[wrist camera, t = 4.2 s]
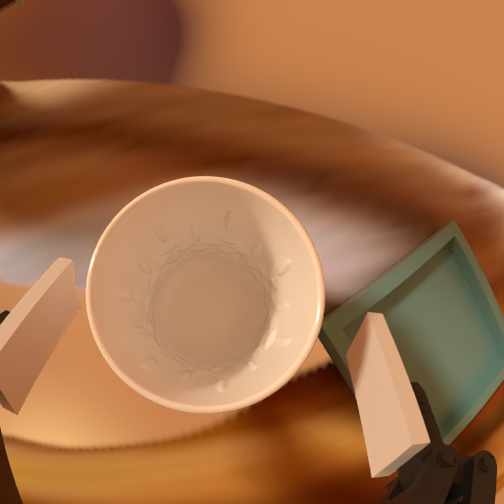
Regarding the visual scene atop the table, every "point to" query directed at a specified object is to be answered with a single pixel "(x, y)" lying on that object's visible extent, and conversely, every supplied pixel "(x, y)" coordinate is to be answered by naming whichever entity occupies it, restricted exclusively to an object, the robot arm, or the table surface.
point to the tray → (432, 326)
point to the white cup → (205, 294)
